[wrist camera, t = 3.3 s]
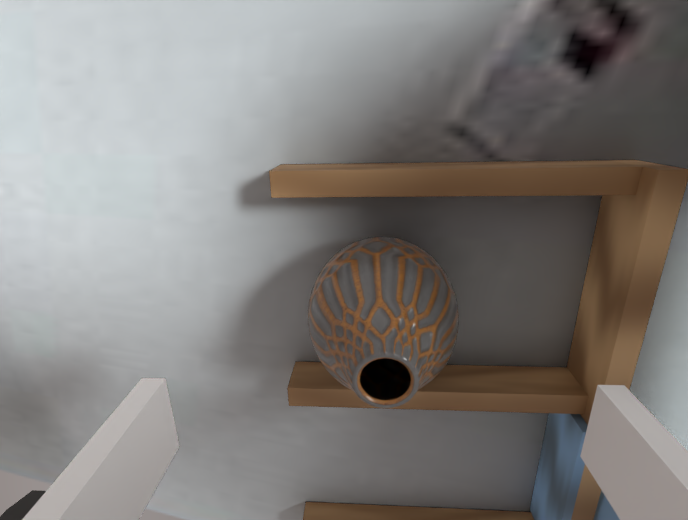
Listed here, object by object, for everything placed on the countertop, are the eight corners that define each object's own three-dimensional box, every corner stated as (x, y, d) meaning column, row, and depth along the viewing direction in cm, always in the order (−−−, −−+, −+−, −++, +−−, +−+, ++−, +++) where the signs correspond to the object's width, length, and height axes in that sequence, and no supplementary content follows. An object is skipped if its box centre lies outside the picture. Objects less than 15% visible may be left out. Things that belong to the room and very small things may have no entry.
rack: (281, 164, 20) (263, 174, 17) (635, 159, 19) (690, 169, 16) (306, 513, 29) (298, 565, 25) (551, 525, 28) (576, 581, 24)
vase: (401, 354, 24) (417, 483, 15) (298, 302, 23) (256, 408, 15) (468, 260, 21) (528, 352, 13) (355, 198, 21) (345, 255, 12)
